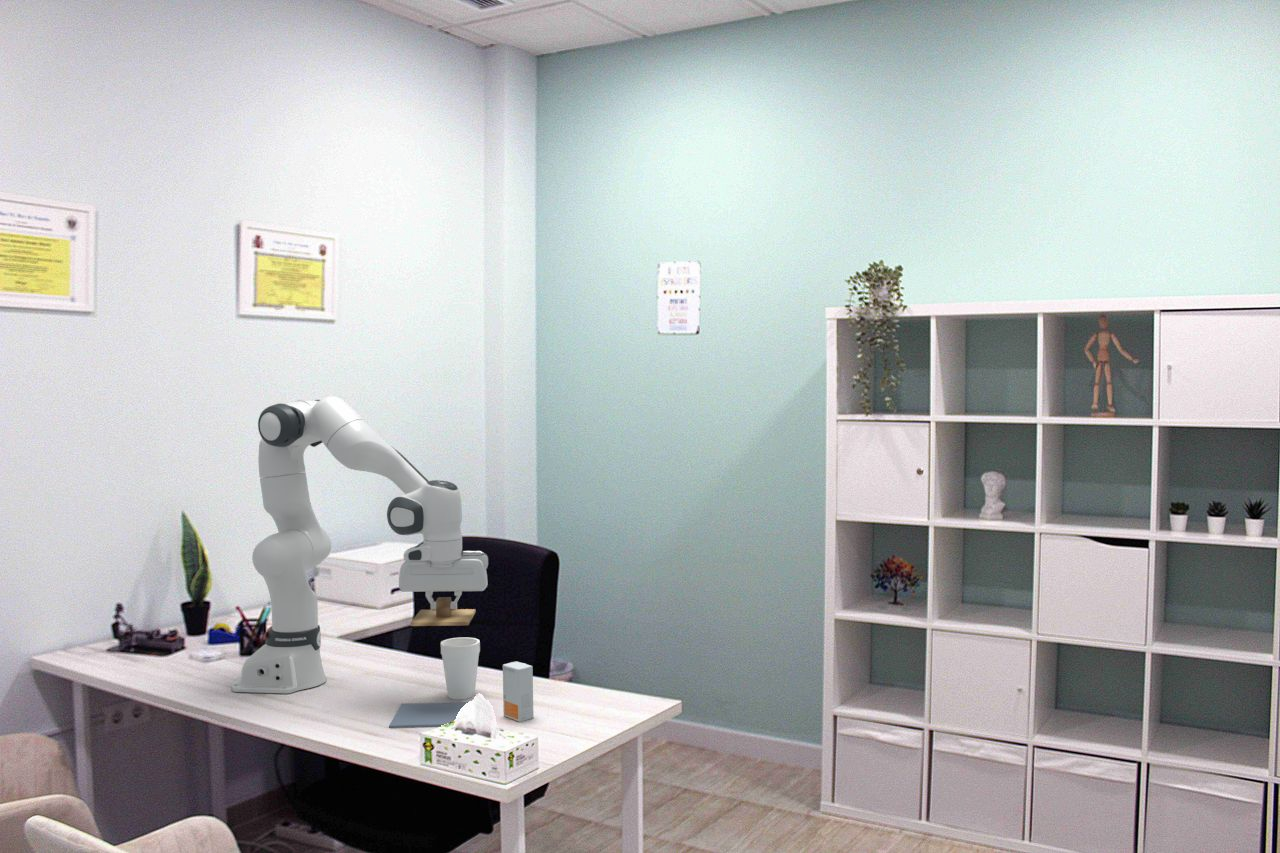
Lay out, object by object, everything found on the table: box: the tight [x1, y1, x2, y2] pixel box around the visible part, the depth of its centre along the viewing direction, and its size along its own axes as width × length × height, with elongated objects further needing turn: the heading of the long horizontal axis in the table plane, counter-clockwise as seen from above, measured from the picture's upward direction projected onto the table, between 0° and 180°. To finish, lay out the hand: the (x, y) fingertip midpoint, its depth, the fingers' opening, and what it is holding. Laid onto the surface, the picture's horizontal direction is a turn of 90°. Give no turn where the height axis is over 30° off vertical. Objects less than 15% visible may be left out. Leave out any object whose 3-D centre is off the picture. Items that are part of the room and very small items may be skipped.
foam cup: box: [440, 636, 481, 700], centre depth 259 cm, size 10×9×13 cm
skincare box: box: [502, 661, 534, 723], centre depth 241 cm, size 6×4×12 cm
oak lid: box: [410, 596, 477, 627], centre depth 249 cm, size 13×13×5 cm
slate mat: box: [388, 701, 469, 729], centre depth 244 cm, size 18×16×1 cm
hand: (443, 610), depth 249 cm, fingers closed on oak lid, 3 cm apart
